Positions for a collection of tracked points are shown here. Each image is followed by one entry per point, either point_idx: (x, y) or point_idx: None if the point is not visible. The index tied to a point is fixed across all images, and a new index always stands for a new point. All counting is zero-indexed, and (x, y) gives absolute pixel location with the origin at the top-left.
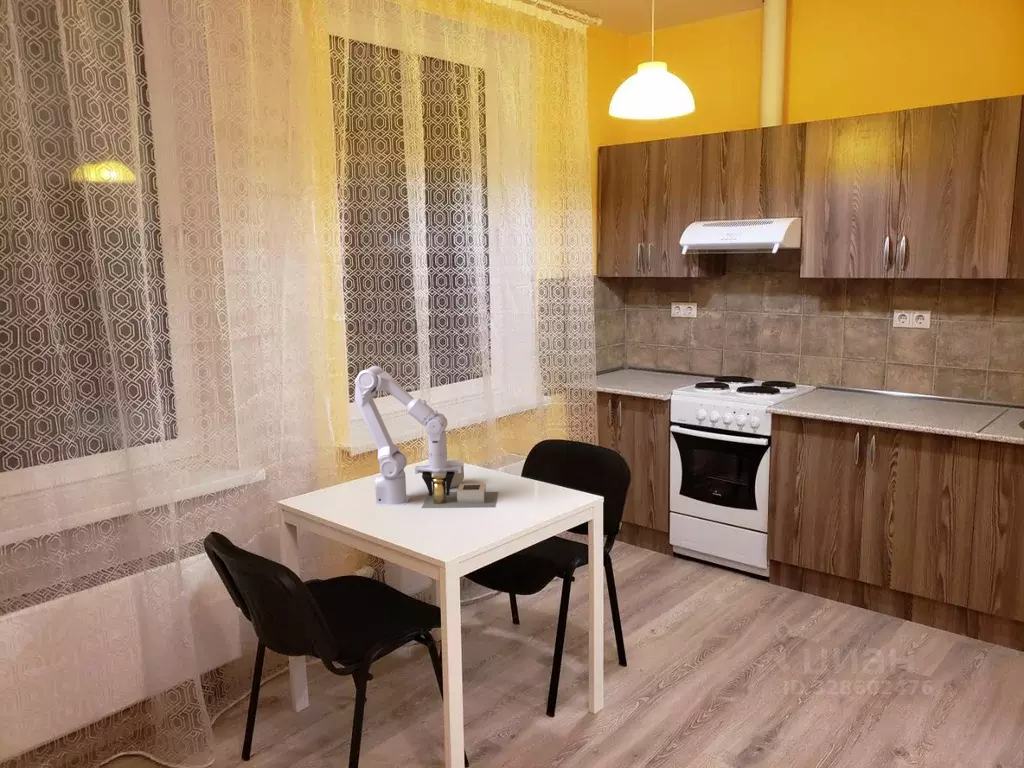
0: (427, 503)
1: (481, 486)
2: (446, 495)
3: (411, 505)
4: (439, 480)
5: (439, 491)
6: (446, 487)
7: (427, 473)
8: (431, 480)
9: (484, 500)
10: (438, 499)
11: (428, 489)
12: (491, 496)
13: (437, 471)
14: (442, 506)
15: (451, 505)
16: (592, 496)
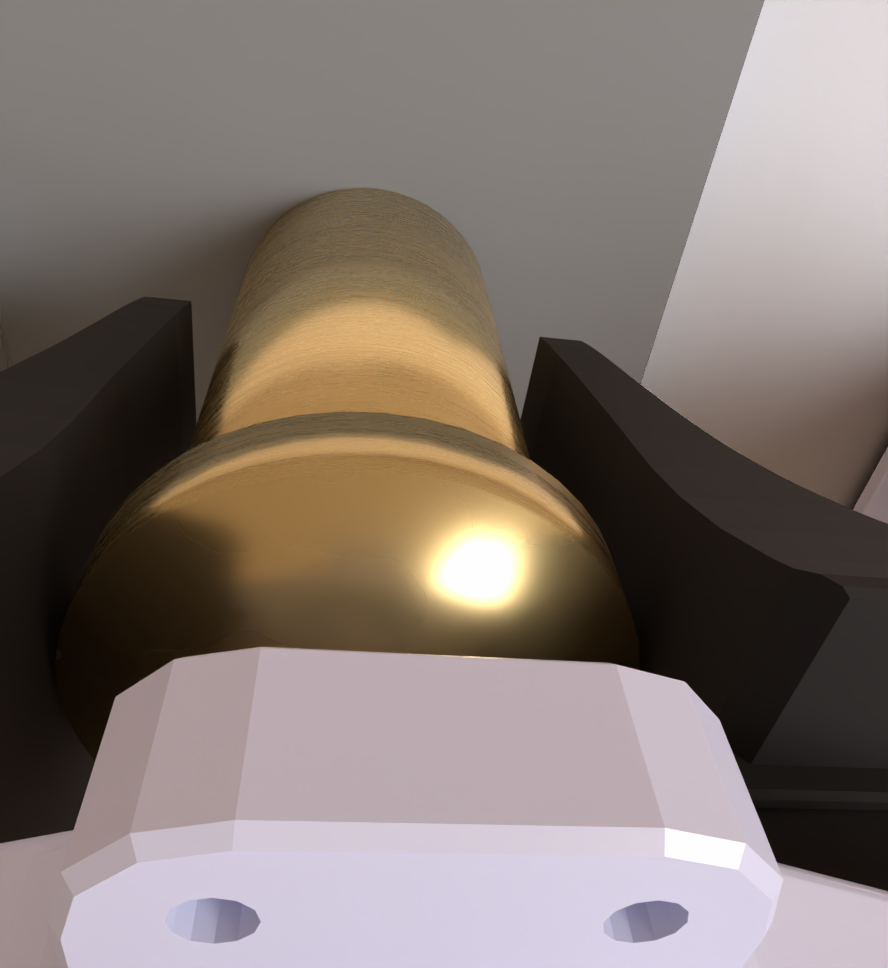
0: (601, 268)
1: None
2: (189, 304)
3: (875, 277)
4: (307, 464)
5: (346, 300)
6: (118, 371)
7: (837, 836)
8: (615, 574)
9: None
10: (382, 226)
11: (649, 395)
12: None
13: (350, 707)
14: (285, 1)
15: (80, 49)
16: None
